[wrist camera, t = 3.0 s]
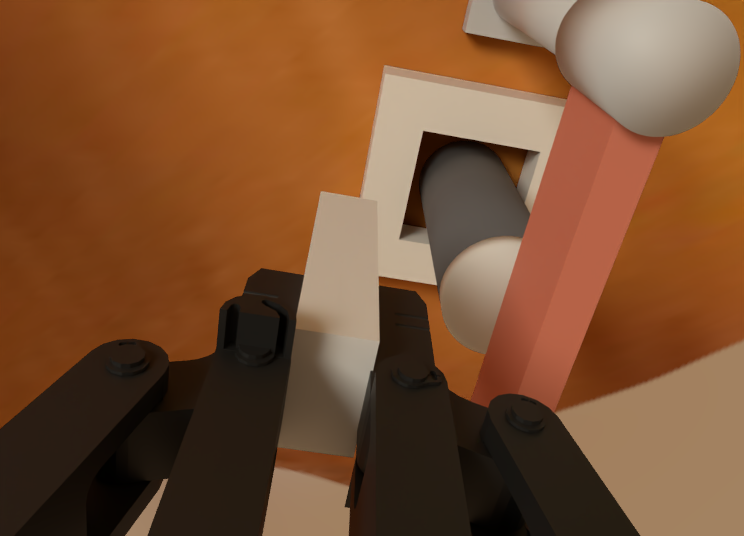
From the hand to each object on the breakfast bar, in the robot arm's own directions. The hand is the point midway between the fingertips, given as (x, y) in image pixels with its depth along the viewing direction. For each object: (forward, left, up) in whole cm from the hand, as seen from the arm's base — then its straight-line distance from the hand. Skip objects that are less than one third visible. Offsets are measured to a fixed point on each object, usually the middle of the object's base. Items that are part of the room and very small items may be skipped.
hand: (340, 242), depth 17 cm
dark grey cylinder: (+6, -3, -16) cm, 17 cm away
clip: (+6, 0, -2) cm, 6 cm away
